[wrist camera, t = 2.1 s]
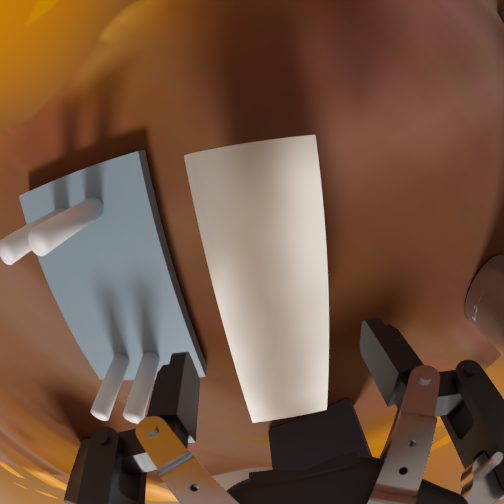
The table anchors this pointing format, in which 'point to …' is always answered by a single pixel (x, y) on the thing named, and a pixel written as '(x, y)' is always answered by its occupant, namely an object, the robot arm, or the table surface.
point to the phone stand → (502, 15)
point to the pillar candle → (77, 473)
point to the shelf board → (268, 268)
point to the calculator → (317, 438)
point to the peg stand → (110, 275)
